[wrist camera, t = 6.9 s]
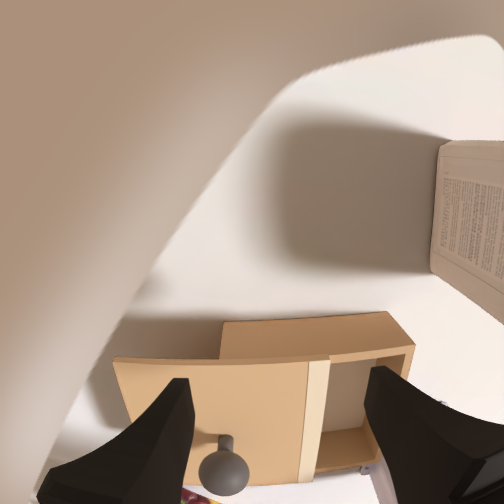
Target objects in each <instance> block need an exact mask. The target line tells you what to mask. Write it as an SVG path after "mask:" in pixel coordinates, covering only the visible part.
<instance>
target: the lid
mask: <svg viewBox="0 0 504 504" xmlns="http://www.w3.org/2000/svg"><path fill="white" fill-rule="evenodd" d="M330 361H331V360H330V357H329V355H328V354H319V355H307V356H293V357H276V358H254V359H153V358H132V357H115V358H114V360H113V361H112V363H113V367H114V370H115V374H116V377H117V380H118V384H119V387H120V390H121V393H122V396H123V399H124V402H125V405H126V408H127V411H128V414H129V417H130V420H131V422H132V423H133V422H134V421H135V420H136V419H137V418H138V417H139V416H140V415H141V414H142V413H143V412H144V411H145V410H146V409H147V408H148V407H149V406H150V405H151V404H152V402H153V401H154V400H155V399H156V398H157V397H158V396H159V394H160V393H161V392H162V391H163V390H164V388H165V387H166V386H167V385H168V383H169V382H170V381H171V380H172V379H173V378H189V382H190V388H191V394H192V399H193V404H194V410H195V427H194V436H193V441H192V445H191V450H190V454H189V458H188V463H187V467H186V471H185V476H184V480H183V484H186V485H203V487H204V488H205V489H206V490H208V491H209V492H211V493H213V494H215V495H218V496H231V495H234V494H237V493H239V492H240V491H242V490H243V489H244V488H245V486H263V485H280V484H293V483H306V482H313V477H314V472H315V466H316V461H317V455H318V449H319V443H320V437H321V431H322V424H323V417H324V410H325V403H326V395H327V387H328V379H329V370H330Z"/></svg>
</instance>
